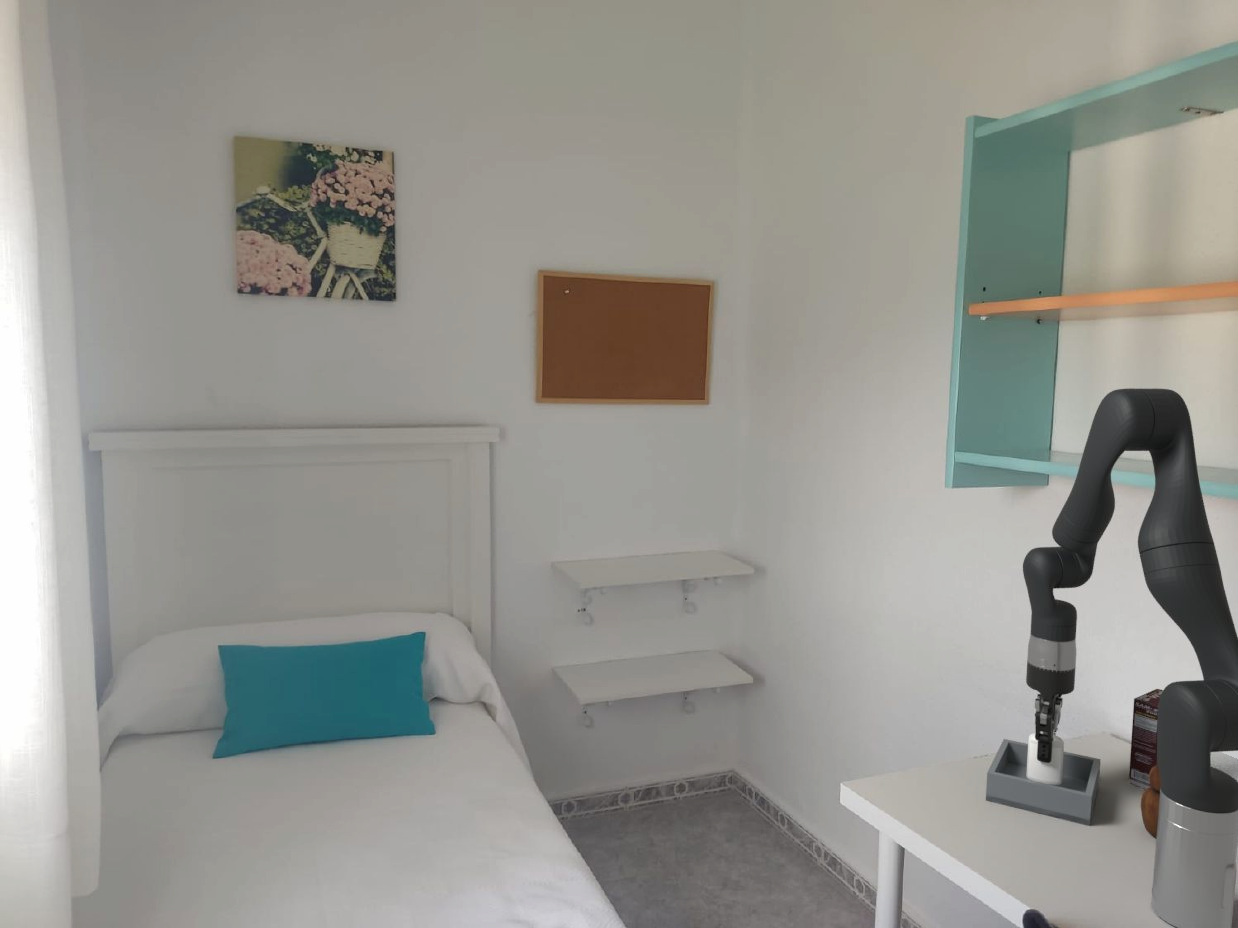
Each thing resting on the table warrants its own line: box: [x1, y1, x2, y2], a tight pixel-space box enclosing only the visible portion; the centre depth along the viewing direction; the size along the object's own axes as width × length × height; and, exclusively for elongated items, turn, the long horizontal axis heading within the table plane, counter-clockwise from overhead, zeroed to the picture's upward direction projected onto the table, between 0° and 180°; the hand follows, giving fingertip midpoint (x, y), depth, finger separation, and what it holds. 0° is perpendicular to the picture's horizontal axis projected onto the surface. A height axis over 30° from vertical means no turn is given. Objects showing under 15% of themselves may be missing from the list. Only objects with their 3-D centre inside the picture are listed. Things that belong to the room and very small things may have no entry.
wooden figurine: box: [1140, 763, 1161, 839], centre depth 145 cm, size 7×6×15 cm
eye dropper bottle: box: [1026, 722, 1065, 785], centre depth 159 cm, size 4×6×12 cm
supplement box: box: [1128, 688, 1164, 790], centre depth 163 cm, size 9×5×16 cm, turn 124°
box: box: [985, 738, 1102, 827], centre depth 159 cm, size 16×16×5 cm
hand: (1045, 756), depth 159 cm, fingers closed on eye dropper bottle, 3 cm apart
